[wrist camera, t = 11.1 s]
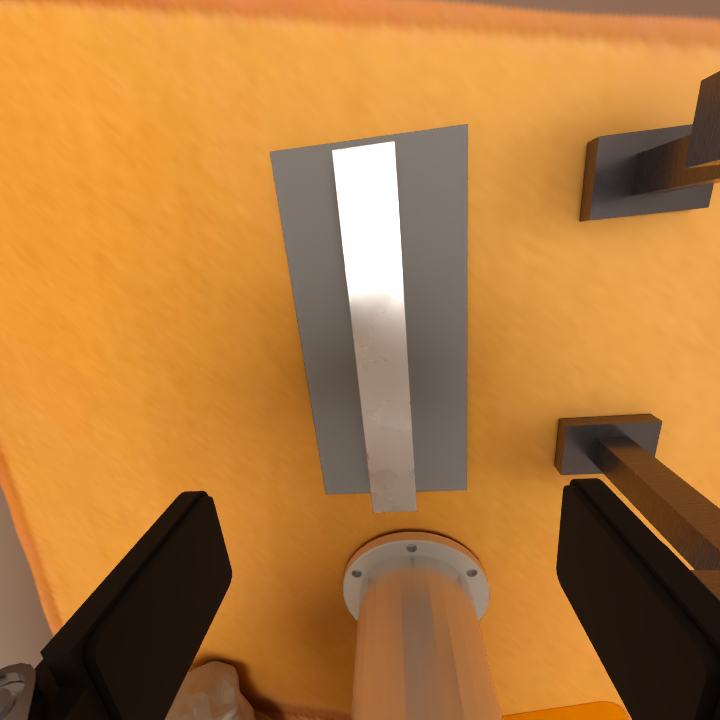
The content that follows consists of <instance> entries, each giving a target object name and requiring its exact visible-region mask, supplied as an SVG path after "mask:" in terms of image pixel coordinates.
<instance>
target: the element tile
mask: <svg viewBox="0 0 720 720" xmlns="http://www.w3.org/2000/svg"><path fill="white" fill-rule="evenodd" d="M502 720H628V718H627V716H626V714H625V712H624V711H623V709H622V708H621V707H620V706H618V705H617V704H615V703H612V702H593V703H586V704H580V705H573V706H566V707H560V708H553V709H546V710H540V711H533V712H526V713H520V714H513V715H506V716H502Z"/></svg>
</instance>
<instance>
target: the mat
mask: <svg viewBox="0 0 720 720" xmlns="http://www.w3.org/2000/svg"><path fill="white" fill-rule="evenodd" d="M387 142H394V144H395V160H396V176H397V193H398V209H399V226H400V242H401V258H402V275H403V291H404V308H405V324H406V340H407V357H408V373H409V390H410V406H411V423H412V439H413V455H414V472H415V488H416V492H419V491H451V490H467V227H468V124H465V125H458V126H451V127H444V128H437V129H430V130H423V131H415V132H408V133H401V134H394V135H387V136H380V137H373V138H365V139H358V140H351V141H344V142H337V143H330V144H323V145H316V146H308V147H301V148H294V149H287V150H280V151H273V152H270V157H271V163H272V169H273V175H274V181H275V187H276V193H277V199H278V205H279V211H280V217H281V223H282V230H283V236H284V242H285V248H286V254H287V260H288V266H289V272H290V278H291V284H292V290H293V297H294V303H295V309H296V315H297V321H298V327H299V333H300V339H301V345H302V351H303V357H304V364H305V370H306V376H307V382H308V388H309V394H310V400H311V406H312V412H313V418H314V424H315V430H316V437H317V443H318V449H319V455H320V461H321V467H322V473H323V479H324V485H325V491H326V494H355V493H371V488H370V479H369V470H368V462H367V453H366V444H365V435H364V426H363V418H362V409H361V400H360V391H359V382H358V374H357V365H356V356H355V347H354V339H353V330H352V321H351V312H350V303H349V295H348V286H347V277H346V268H345V260H344V251H343V242H342V233H341V224H340V216H339V207H338V198H337V189H336V180H335V172H334V163H333V154H332V150H338V149H345V148H352V147H359V146H366V145H373V144H380V143H387Z"/></svg>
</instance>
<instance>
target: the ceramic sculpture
mask: <svg viewBox="0 0 720 720" xmlns="http://www.w3.org/2000/svg"><path fill="white" fill-rule="evenodd" d="M165 720H272V719H271V718H270V717H269V716H267V715H266V714H264V713H262V712H259V711H256V710H253V707H252V706H251V705H250V703H249V702H248V700H247V699H246V698H245V697H244V696H243V695H242V694H241V692H239V680H238V674H237V671H236V669H235V667H233V666H232V665H228V664H226V663H223V662H221V661H211V662H208V663H206V664H204V665H200V666H198V667H196V668H195V669H193V670H192V671H191V672H190V673H189V674H187V675H186V677H185V679H184V681H183V683H182V685H181V687H180V689H179V691H178V693H177V695H176V697H175V699H174V701H173V703H172V706H171V708H170V710H169V712H168V714H167V716H166V718H165Z"/></svg>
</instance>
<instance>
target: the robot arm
mask: <svg viewBox="0 0 720 720" xmlns="http://www.w3.org/2000/svg"><path fill="white" fill-rule="evenodd" d="M556 570H557V576H558V579H559V582H560V585H561V587H562V589H563V590H564V592H565V594H566V596H567V598H568V600H569V602H570V604H571V605H572V607H573V609H574V611H575V613H576V615H577V617H578V619H579V620H580V622H581V624H582V626H583V628H584V630H585V632H586V634H587V635H588V637H589V639H590V641H591V643H592V645H593V647H594V649H595V650H596V652H597V654H598V656H599V658H600V660H601V662H602V664H603V665H604V667H605V669H606V671H607V673H608V675H609V677H610V679H611V680H612V682H613V684H614V686H615V688H616V690H617V692H618V694H619V696H620V697H621V699H622V701H623V703H624V705H625V707H626V709H627V711H628V712H629V714H630V716H631V718H632V720H720V600H719V599H718V598H717V597H716V596H715V595H714V594H713V593H712V592H711V591H710V590H709V589H708V588H707V587H706V586H705V585H704V584H703V583H702V582H701V581H700V580H699V579H698V578H697V577H696V576H695V575H694V574H693V573H692V572H691V571H690V570H689V569H688V568H687V567H686V566H685V565H684V564H683V563H682V561H681V560H680V559H679V558H678V557H677V556H676V555H675V554H674V553H673V552H672V551H671V550H670V549H669V548H668V547H667V546H666V545H665V544H663V543H662V542H661V541H660V540H659V539H658V538H657V537H656V536H655V535H654V534H653V533H652V532H651V531H650V530H649V529H648V528H647V527H646V526H645V525H644V524H643V522H642V521H641V520H640V519H639V518H638V517H637V516H636V515H635V514H634V513H633V512H632V511H631V510H630V509H629V508H628V507H627V506H626V505H625V504H624V503H623V502H622V501H621V500H620V499H619V498H618V497H617V496H616V495H615V494H614V493H613V492H612V491H611V490H610V489H609V487H608V486H607V485H606V484H605V483H604V482H603V481H601V480H600V479H597V478H592V479H573V480H571V482H570V485H566V486H565V487H564V489H563V498H562V509H561V520H560V532H559V543H558V554H557V566H556ZM231 579H232V568H231V565H230V561H229V557H228V553H227V550H226V546H225V542H224V538H223V534H222V531H221V527H220V523H219V519H218V516H217V512H216V508H215V504H214V501H213V498H212V497H210V496H208V494H207V493H206V492H205V491H188V492H182V493H181V494H180V495H179V496H178V497H177V498H176V499H175V500H174V501H173V503H172V504H171V505H170V506H169V507H168V508H167V509H166V510H165V512H164V513H163V514H162V515H161V516H160V517H159V518H158V520H157V521H156V522H155V523H154V524H153V525H152V526H151V527H150V529H149V530H148V531H147V532H146V533H145V534H144V535H143V537H142V538H141V539H140V540H139V541H138V542H137V543H136V544H135V546H134V547H133V548H132V549H131V550H130V551H129V552H128V553H127V555H126V556H125V557H124V558H123V559H122V560H121V561H120V563H119V564H118V565H117V566H116V567H115V568H114V569H113V570H112V572H111V573H110V574H109V575H108V576H107V577H106V578H105V580H104V581H103V582H102V583H101V584H100V585H99V586H98V587H97V589H96V590H95V591H94V592H93V593H92V594H91V595H90V596H89V598H88V599H87V600H86V601H85V602H84V603H83V604H82V606H81V607H80V608H79V609H78V610H77V611H76V612H75V613H74V615H73V616H72V617H71V618H70V619H69V620H68V621H67V622H66V624H65V625H64V626H63V627H62V628H61V629H60V630H59V632H58V633H57V634H56V635H55V636H54V637H53V638H52V639H51V641H50V642H49V643H48V644H47V645H46V646H45V648H44V649H43V650H42V651H41V652H40V653H41V655H42V657H43V658H44V659H43V660H42V661H41V662H40V663H39V665H38V666H37V667H36V668H35V669H34V668H33V667H32V666H31V665H30V664H25V663H18V664H14V665H9V666H6V667H4V668H2V669H0V720H165V718H166V716H167V714H168V712H169V710H170V708H171V706H172V703H173V701H174V699H175V697H176V695H177V693H178V691H179V689H180V687H181V685H182V683H183V681H184V679H185V677H186V675H187V672H188V670H189V668H190V666H191V664H192V662H193V660H194V658H195V656H196V654H197V652H198V650H199V648H200V646H201V644H202V641H203V639H204V637H205V635H206V633H207V631H208V629H209V627H210V625H211V623H212V621H213V619H214V617H215V615H216V613H217V610H218V608H219V606H220V604H221V602H222V600H223V598H224V596H225V594H226V592H227V590H228V588H229V585H230V583H231ZM342 591H343V597H344V602H345V604H346V606H347V609H348V610H349V612H350V613H351V615H352V616H353V617H354V619H355V620H356V621H358V627H357V641H356V654H355V668H354V681H353V695H352V709H351V720H502V716H501V711H500V707H499V703H498V699H497V695H496V691H495V687H494V683H493V679H492V675H491V671H490V667H489V663H488V659H487V655H486V651H485V647H484V642H483V638H482V634H481V630H480V626H479V620H480V619H481V618H482V617H483V615H484V614H485V612H486V609H487V607H488V604H489V598H490V591H489V584H488V581H487V578H486V574H485V571H484V569H483V568H482V566H481V564H480V562H479V561H478V560H477V558H476V557H475V556H474V555H473V554H472V553H471V552H470V551H469V550H467V549H466V548H465V547H463V546H462V545H460V544H459V543H457V542H455V541H453V540H451V539H449V538H445V537H442V536H439V535H436V534H431V533H425V532H400V533H393V534H389V535H386V536H382V537H379V538H377V539H375V540H373V541H371V542H369V543H367V544H366V545H364V546H363V547H362V548H360V549H359V550H358V551H357V552H356V553H355V554H354V555H353V557H352V558H351V559H350V561H349V563H348V565H347V567H346V570H345V574H344V579H343V590H342Z"/></svg>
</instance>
